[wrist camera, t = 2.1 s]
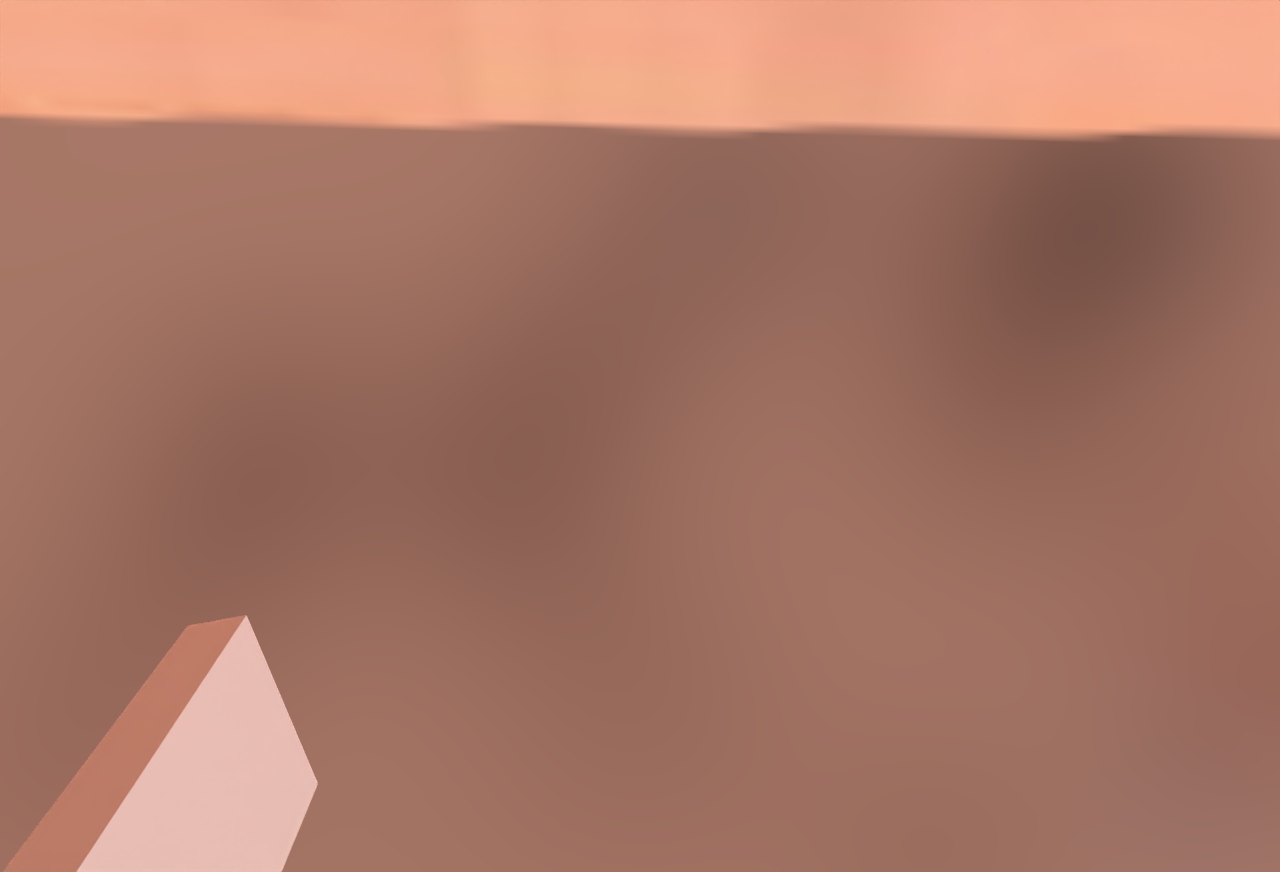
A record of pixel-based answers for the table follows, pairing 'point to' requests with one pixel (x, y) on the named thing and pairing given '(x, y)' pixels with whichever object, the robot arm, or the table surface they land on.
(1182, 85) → the table surface
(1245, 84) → the table surface
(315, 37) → the table surface
